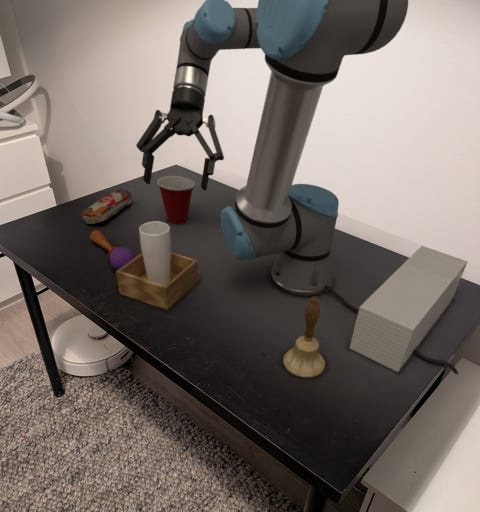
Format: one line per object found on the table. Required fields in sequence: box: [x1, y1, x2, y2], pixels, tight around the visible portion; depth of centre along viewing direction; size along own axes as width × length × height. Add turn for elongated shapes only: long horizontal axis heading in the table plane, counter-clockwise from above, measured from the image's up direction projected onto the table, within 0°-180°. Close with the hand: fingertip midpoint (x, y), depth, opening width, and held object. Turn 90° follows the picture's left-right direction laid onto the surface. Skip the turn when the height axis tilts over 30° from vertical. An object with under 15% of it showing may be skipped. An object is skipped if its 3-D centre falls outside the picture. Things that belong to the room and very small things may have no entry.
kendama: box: [89, 230, 135, 271], centre depth 117 cm, size 6×6×20 cm
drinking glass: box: [138, 220, 172, 286], centre depth 103 cm, size 7×7×15 cm
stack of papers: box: [349, 245, 468, 373], centre depth 98 cm, size 32×11×11 cm, turn 141°
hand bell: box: [282, 296, 326, 379], centre depth 85 cm, size 8×8×16 cm
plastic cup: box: [156, 175, 196, 225], centre depth 133 cm, size 11×11×12 cm
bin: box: [115, 251, 199, 311], centre depth 106 cm, size 13×13×6 cm
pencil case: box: [80, 188, 133, 225], centre depth 136 cm, size 11×20×5 cm, turn 145°
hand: (174, 185), depth 104 cm, fingers open, 13 cm apart
